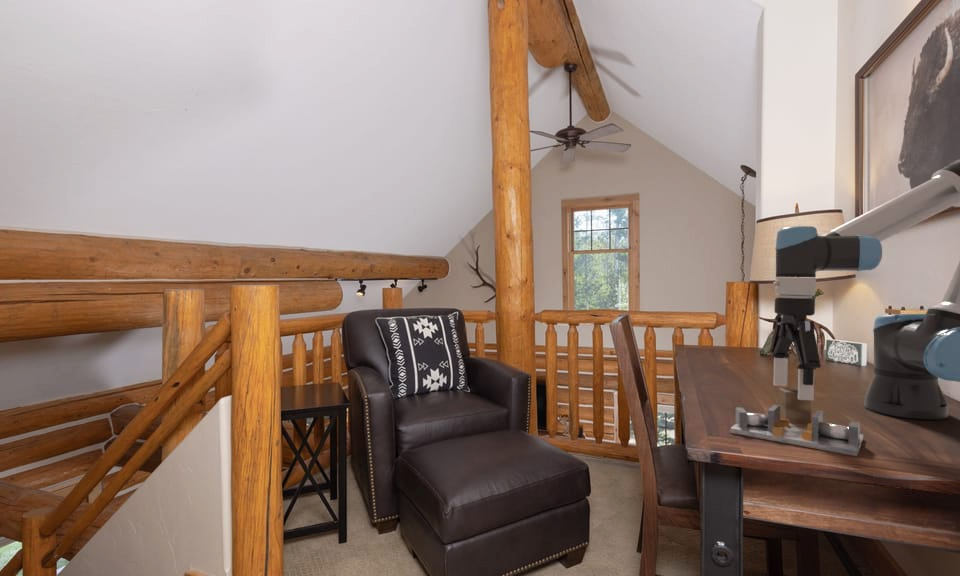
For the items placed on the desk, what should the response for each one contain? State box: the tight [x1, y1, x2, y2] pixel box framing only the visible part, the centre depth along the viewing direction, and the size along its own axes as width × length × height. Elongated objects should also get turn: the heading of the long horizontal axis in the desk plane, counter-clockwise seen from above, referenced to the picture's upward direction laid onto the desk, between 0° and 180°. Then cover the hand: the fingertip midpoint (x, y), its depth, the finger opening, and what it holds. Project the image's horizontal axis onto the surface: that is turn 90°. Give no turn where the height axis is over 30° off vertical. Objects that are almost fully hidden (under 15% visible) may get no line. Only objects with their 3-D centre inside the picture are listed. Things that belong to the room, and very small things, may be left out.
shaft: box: [735, 406, 768, 428], centre depth 105 cm, size 6×4×3 cm
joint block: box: [778, 386, 812, 426], centre depth 111 cm, size 5×4×8 cm
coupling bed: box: [730, 403, 864, 457], centre depth 101 cm, size 21×12×5 cm, turn 48°
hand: (792, 392), depth 111 cm, fingers open, 13 cm apart
